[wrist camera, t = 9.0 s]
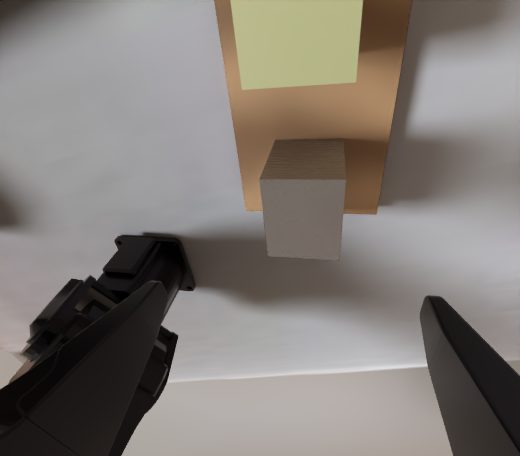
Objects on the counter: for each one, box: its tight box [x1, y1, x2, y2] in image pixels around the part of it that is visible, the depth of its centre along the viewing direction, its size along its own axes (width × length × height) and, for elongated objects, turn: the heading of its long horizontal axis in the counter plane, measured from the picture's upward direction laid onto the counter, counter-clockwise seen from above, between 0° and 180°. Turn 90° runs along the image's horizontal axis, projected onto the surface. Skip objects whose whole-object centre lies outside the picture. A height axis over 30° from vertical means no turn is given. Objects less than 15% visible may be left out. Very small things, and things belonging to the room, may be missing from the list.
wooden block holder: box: [214, 0, 412, 214], centre depth 12 cm, size 22×9×7 cm, turn 6°
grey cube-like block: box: [259, 138, 346, 261], centre depth 17 cm, size 5×4×5 cm
